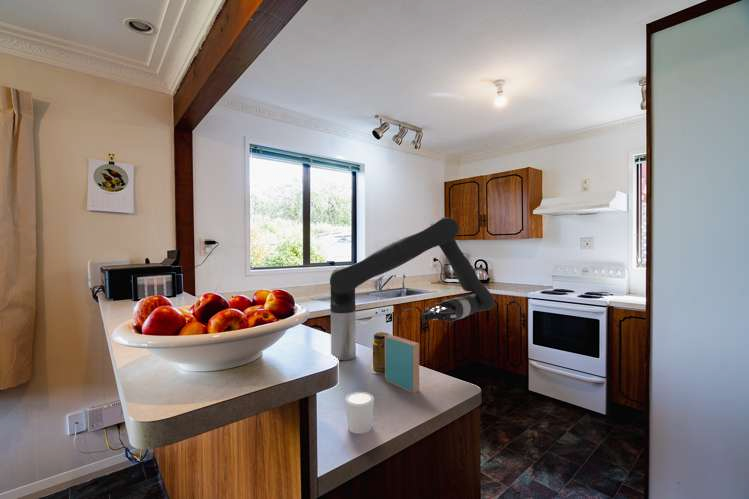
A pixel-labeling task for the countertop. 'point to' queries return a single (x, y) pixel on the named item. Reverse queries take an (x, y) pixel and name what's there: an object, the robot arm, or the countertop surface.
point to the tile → (402, 363)
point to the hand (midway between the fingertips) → (423, 317)
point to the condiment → (379, 353)
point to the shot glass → (359, 412)
